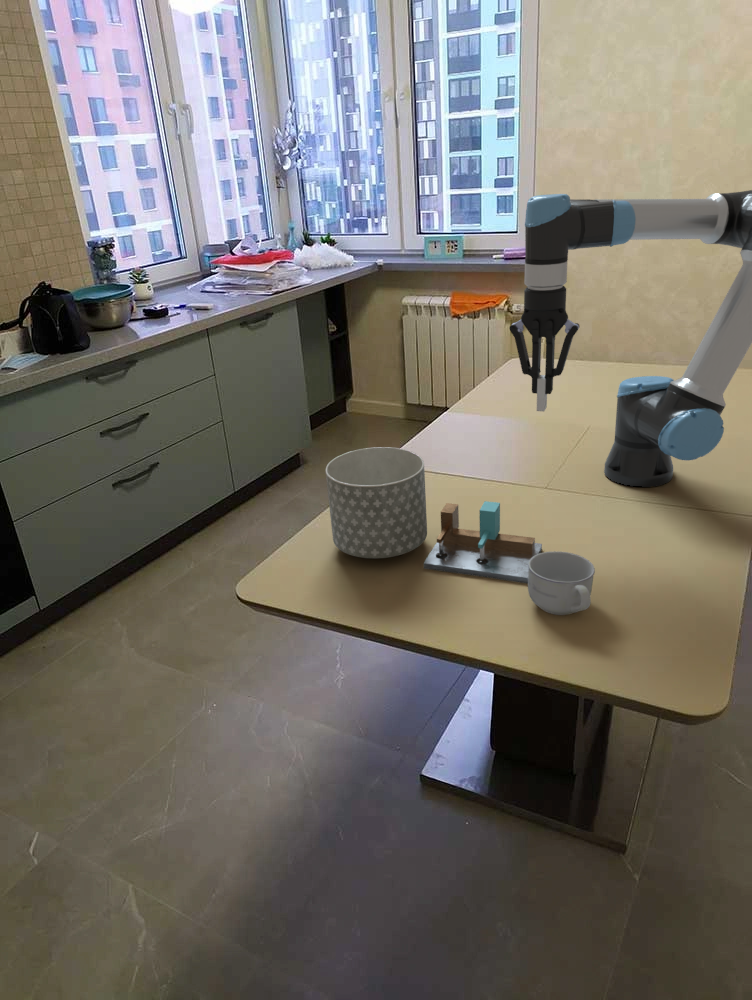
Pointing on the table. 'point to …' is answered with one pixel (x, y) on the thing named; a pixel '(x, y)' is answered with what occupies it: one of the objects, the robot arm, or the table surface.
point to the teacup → (560, 582)
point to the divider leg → (488, 523)
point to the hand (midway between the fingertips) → (541, 409)
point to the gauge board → (463, 554)
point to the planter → (377, 501)
